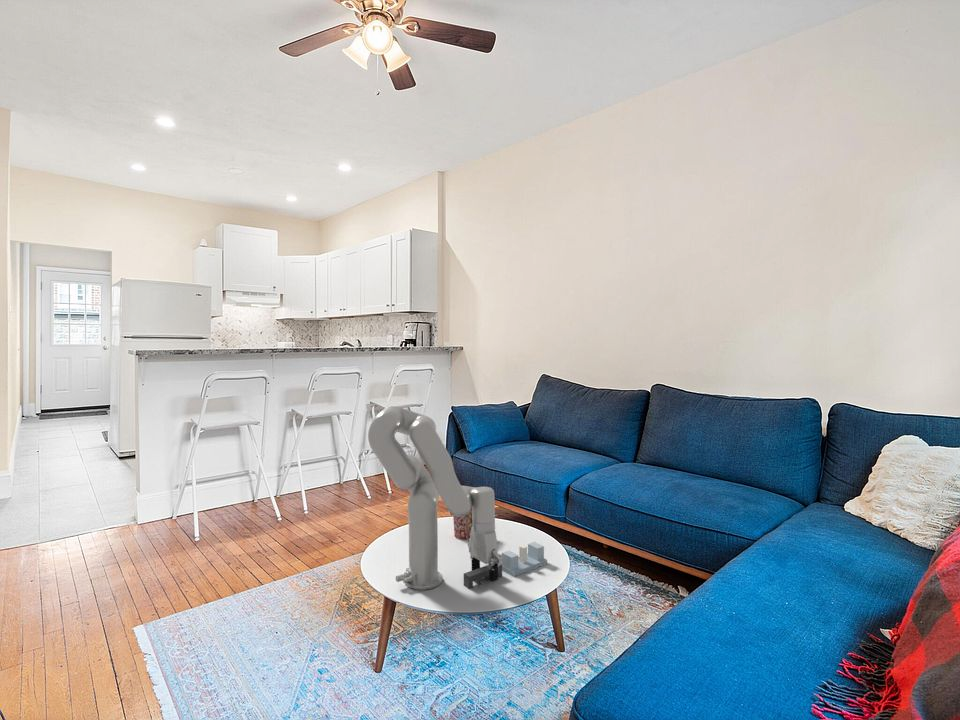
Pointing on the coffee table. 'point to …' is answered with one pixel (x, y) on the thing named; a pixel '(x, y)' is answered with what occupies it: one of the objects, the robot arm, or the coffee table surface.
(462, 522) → the mug
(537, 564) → the display stand
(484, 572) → the dark grey bar
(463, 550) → the coffee table surface
